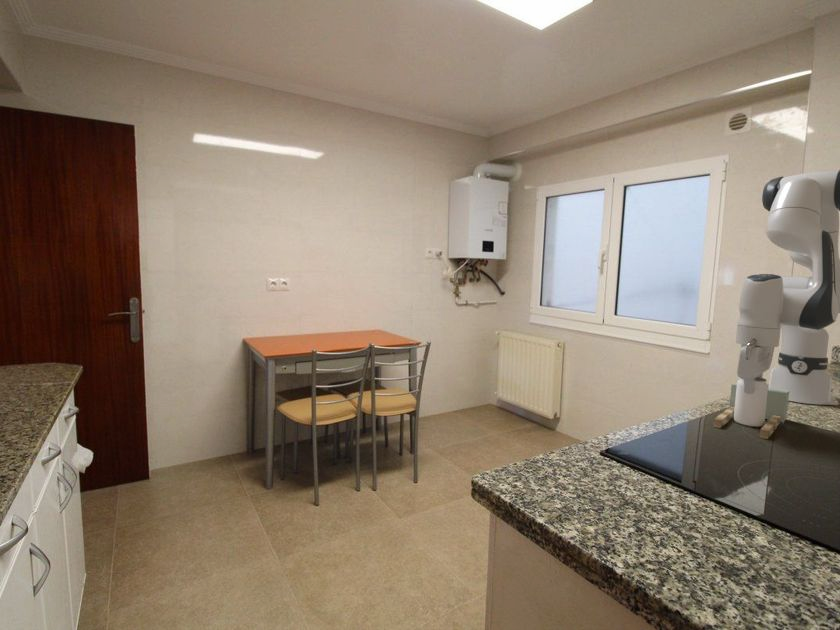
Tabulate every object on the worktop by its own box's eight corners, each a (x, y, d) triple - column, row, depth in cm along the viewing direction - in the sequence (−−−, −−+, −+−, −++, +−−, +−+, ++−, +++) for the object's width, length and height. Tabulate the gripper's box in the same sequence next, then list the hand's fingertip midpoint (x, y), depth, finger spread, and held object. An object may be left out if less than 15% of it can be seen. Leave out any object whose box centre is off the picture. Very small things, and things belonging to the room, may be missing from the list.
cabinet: (733, 408, 129) (735, 381, 128) (786, 419, 120) (789, 390, 119) (729, 412, 125) (731, 384, 125) (783, 423, 117) (786, 393, 116)
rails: (729, 413, 124) (730, 406, 124) (779, 424, 116) (780, 416, 116) (713, 426, 112) (713, 418, 112) (767, 439, 104) (768, 431, 104)
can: (753, 419, 119) (758, 375, 118) (770, 428, 112) (775, 381, 111) (728, 418, 119) (732, 374, 118) (743, 426, 113) (747, 380, 112)
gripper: (764, 343, 104) (758, 400, 105) (779, 336, 118) (774, 387, 119) (732, 339, 109) (727, 394, 110) (750, 333, 123) (745, 382, 124)
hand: (752, 390), depth 115 cm, fingers closed on can, 6 cm apart
